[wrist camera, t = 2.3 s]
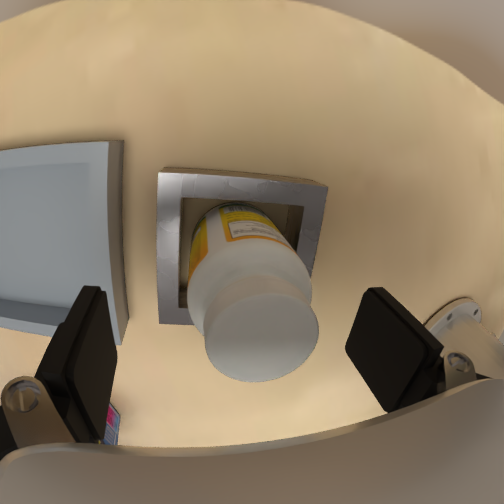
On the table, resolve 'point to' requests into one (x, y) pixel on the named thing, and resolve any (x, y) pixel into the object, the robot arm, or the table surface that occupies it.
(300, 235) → the collar
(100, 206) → the tray
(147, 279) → the table surface
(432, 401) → the robot arm
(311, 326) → the supplement bottle
